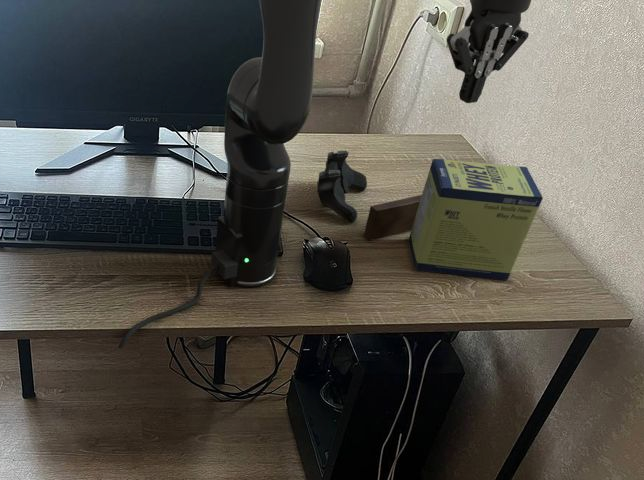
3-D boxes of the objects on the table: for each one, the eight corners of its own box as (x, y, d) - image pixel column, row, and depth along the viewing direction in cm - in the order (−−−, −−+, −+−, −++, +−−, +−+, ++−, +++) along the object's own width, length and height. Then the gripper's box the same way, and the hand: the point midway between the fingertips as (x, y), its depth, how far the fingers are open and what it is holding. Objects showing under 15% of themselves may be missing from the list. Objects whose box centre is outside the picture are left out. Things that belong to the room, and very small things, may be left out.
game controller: (336, 193, 141) (321, 148, 137) (370, 184, 138) (355, 138, 133) (322, 232, 130) (304, 184, 125) (357, 224, 126) (341, 174, 121)
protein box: (509, 281, 115) (545, 197, 105) (414, 271, 116) (440, 187, 106) (496, 247, 123) (528, 166, 113) (407, 238, 124) (430, 157, 114)
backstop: (369, 240, 123) (376, 210, 119) (363, 235, 124) (370, 206, 120) (456, 219, 130) (466, 190, 126) (450, 215, 131) (459, 186, 127)
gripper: (527, -42, 94) (484, 87, 105) (450, -37, 90) (414, 96, 101) (570, -28, 89) (521, 105, 100) (492, -23, 85) (449, 116, 96)
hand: (467, 100), depth 101 cm, fingers closed
